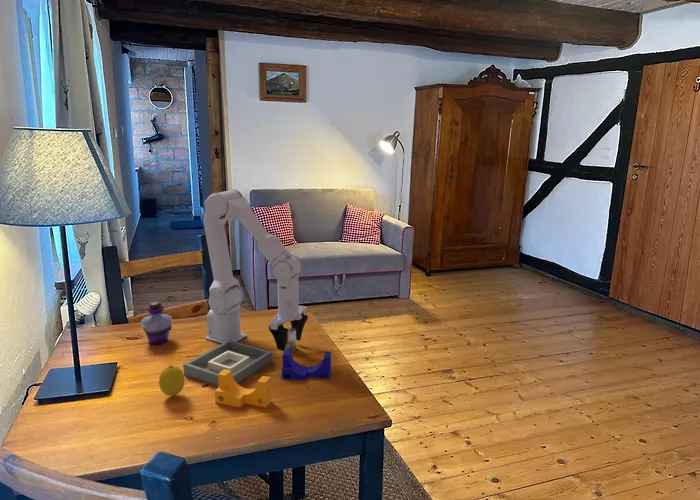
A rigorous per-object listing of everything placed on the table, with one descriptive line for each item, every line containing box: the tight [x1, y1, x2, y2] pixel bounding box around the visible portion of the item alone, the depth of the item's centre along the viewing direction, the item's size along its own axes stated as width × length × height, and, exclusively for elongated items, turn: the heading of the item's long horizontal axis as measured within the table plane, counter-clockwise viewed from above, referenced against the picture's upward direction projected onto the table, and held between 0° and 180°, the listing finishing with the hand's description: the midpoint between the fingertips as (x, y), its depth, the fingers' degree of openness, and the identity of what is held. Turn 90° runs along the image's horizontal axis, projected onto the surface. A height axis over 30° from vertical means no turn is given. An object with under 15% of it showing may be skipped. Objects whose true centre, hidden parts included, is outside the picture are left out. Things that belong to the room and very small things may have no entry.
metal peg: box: [282, 326, 297, 354], centre depth 141 cm, size 4×4×6 cm
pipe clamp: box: [214, 369, 272, 408], centre depth 115 cm, size 12×4×6 cm, turn 73°
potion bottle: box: [140, 300, 173, 346], centre depth 144 cm, size 9×9×12 cm
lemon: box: [158, 364, 185, 398], centre depth 116 cm, size 6×6×8 cm
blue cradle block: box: [281, 350, 332, 381], centre depth 127 cm, size 12×4×6 cm, turn 86°
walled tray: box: [182, 340, 273, 388], centre depth 130 cm, size 15×17×3 cm
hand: (289, 344), depth 142 cm, fingers open, 7 cm apart
